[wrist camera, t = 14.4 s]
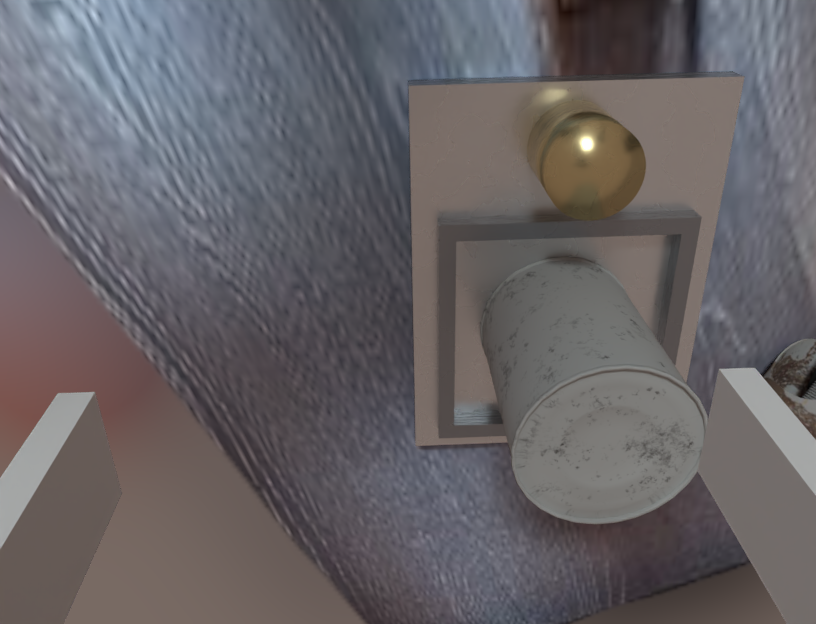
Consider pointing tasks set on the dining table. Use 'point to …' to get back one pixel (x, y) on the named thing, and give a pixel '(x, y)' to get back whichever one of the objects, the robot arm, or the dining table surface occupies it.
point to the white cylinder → (588, 395)
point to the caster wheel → (797, 381)
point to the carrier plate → (556, 211)
